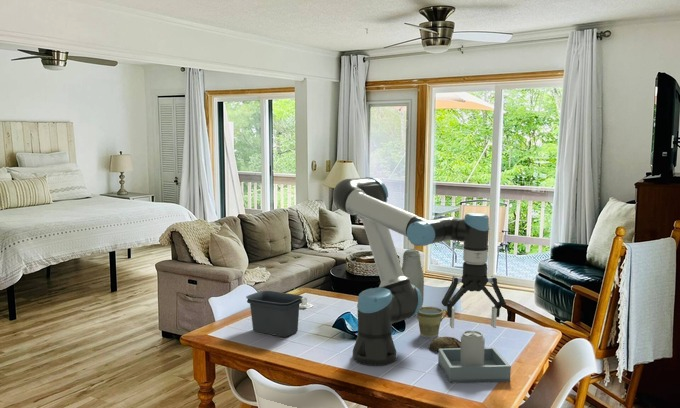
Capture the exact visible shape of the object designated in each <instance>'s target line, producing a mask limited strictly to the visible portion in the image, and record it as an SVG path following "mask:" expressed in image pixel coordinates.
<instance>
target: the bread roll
mask: <svg viewBox="0 0 680 408" xmlns="http://www.w3.org/2000/svg"><path fill="white" fill-rule="evenodd" d="M428 347H429V348H428V349H429V350H431V351H432V352H435V353H438V350H439V349H447V348H461V340H459V339H458V338H455V337H452V336H439V337H438V336H437V337H435V338H433V339H432V341H431V342H430V343H429V345H428Z"/></svg>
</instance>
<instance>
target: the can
mask: <svg viewBox="0 0 680 408" xmlns="http://www.w3.org/2000/svg"><path fill="white" fill-rule="evenodd" d="M483 335H484V334H483V333H482V332H481V331H478V330H465V331H463V332H462V335H460V342H461V354H460V366H484V348H486V347H485V344H486V343H485V342H486V340H485V337H484V336H483Z"/></svg>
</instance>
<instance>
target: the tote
mask: <svg viewBox="0 0 680 408" xmlns="http://www.w3.org/2000/svg"><path fill="white" fill-rule="evenodd" d="M460 354H461V348H447V349H439V350H438V358H437V359H438V361H437V362H438V365H439V367H440V369H441V370H442V373H443V374H444V376H445V378H447V381H448V383H449V384H466V383H467V384H470V383H472V384H475V383H511V371H512V370H511V369H512V368H511V367H512V366H511V365H510V364H509V362H507V360H506V359H505V358H504V357H503V356H502V355H501V354H500V353H499V351H498V349H496V348H495V347H485V348H484V366H460Z"/></svg>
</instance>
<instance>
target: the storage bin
mask: <svg viewBox="0 0 680 408" xmlns="http://www.w3.org/2000/svg"><path fill="white" fill-rule="evenodd" d="M303 297H304V296H302V295H299V294H293V293H287V292H286V293H285V292H280V291H273V290H260V291H257V292H255V293H252V294H249V295H246V296H245V298H246V299H247V301H246V302H247V304H249V307H250V313H251V314H250V316H251V324H252V330H253V331H254V332H256V333H262V334H268V335H273V336H277V337H283V338H287V337H289V336H291V335H293V334H295V333H297V332H298V330H299V315H300V308H299V304H301V303H302V300H301V299H302V298H303Z"/></svg>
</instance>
